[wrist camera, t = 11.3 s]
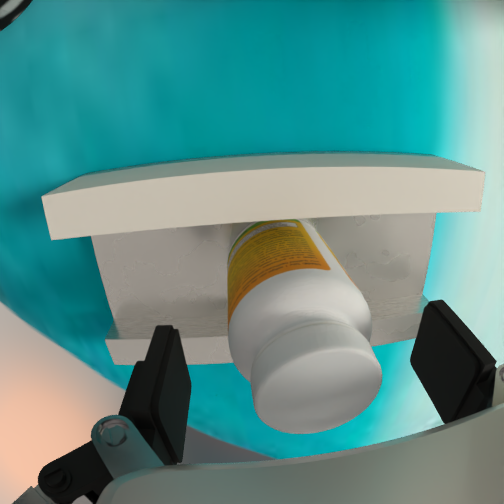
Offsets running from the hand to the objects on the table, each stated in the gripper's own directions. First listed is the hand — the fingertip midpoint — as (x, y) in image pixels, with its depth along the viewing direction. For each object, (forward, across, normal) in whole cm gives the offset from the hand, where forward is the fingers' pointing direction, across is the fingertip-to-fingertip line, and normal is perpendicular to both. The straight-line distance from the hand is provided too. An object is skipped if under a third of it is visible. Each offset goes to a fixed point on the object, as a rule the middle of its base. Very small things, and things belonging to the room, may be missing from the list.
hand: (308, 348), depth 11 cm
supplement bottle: (+7, 0, 0) cm, 7 cm away
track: (+8, +1, 0) cm, 8 cm away
